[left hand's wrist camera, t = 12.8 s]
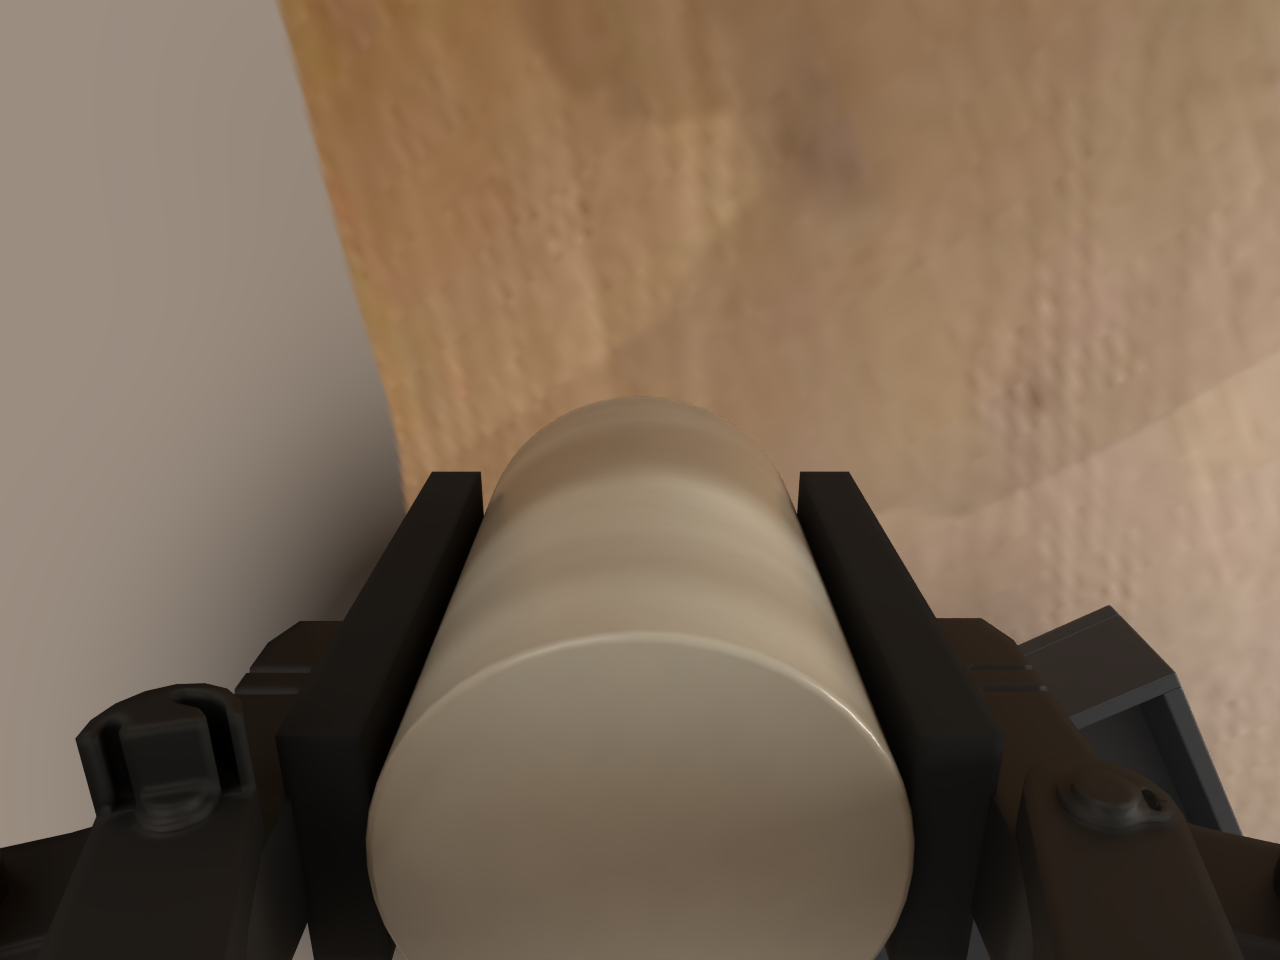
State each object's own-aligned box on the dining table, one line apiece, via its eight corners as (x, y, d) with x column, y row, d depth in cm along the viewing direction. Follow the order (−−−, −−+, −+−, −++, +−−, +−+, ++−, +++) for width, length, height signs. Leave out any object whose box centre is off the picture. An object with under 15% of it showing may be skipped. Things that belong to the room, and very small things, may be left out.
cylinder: (477, 394, 14) (329, 635, 7) (805, 394, 14) (950, 635, 7) (495, 675, 16) (391, 1066, 9) (785, 675, 16) (888, 1067, 9)
